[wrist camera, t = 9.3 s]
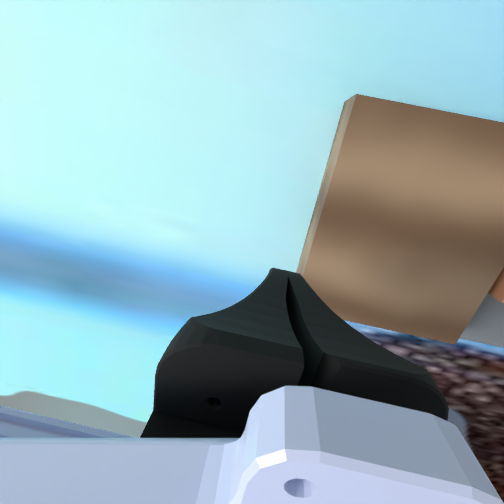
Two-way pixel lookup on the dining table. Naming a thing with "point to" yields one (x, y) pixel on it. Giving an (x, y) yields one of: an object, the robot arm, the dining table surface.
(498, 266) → the stand
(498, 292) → the orange flat block
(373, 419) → the robot arm
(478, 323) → the mat
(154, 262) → the dining table surface
